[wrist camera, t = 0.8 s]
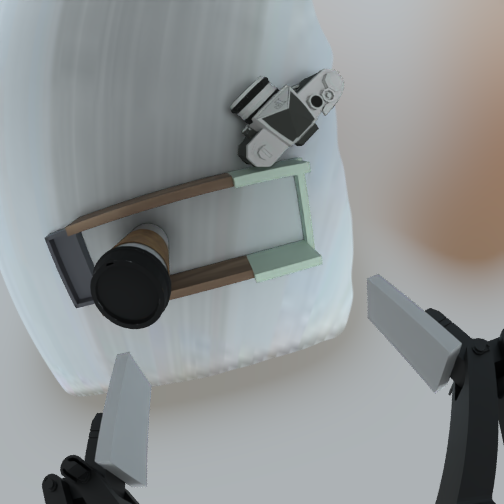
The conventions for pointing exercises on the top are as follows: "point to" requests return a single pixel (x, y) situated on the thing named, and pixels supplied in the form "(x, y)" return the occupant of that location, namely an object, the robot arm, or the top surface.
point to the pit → (72, 265)
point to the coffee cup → (134, 278)
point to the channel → (193, 278)
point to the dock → (302, 251)
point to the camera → (283, 114)
